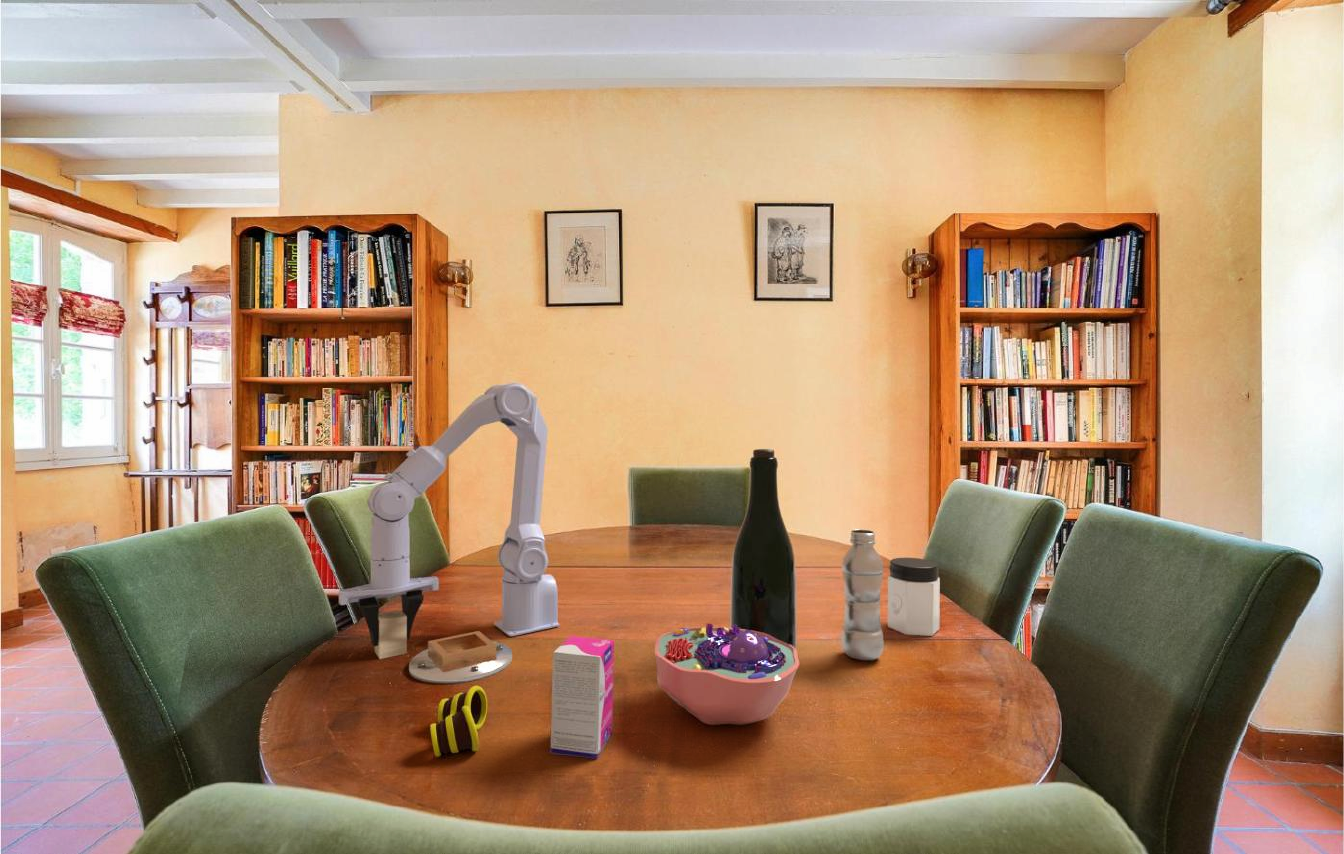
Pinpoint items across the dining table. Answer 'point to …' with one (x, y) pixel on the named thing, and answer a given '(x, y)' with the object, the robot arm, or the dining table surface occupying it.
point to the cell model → (725, 672)
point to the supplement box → (582, 696)
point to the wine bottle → (764, 559)
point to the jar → (914, 596)
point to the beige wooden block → (392, 634)
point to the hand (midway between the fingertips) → (390, 641)
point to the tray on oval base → (460, 659)
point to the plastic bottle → (862, 598)
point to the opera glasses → (459, 722)
